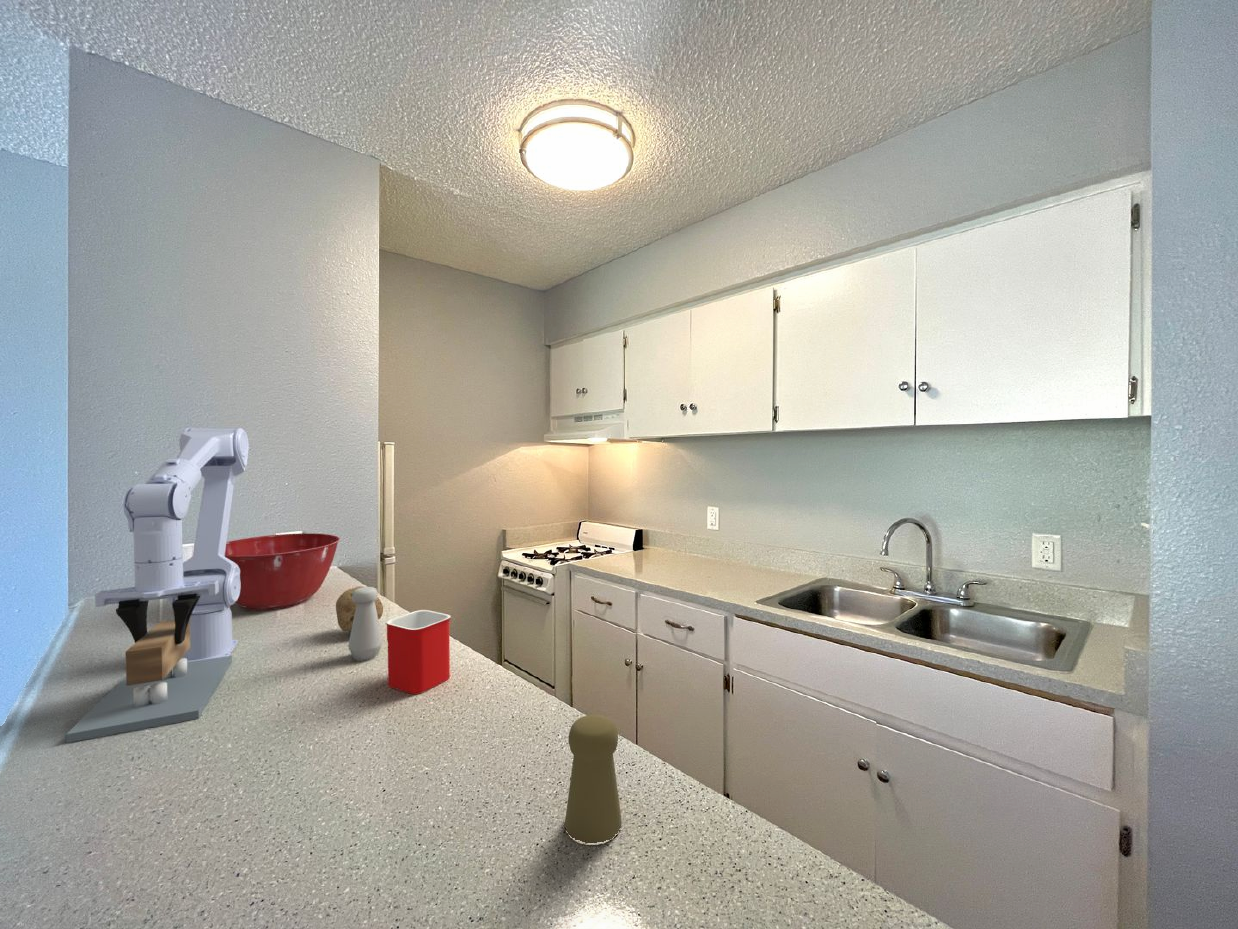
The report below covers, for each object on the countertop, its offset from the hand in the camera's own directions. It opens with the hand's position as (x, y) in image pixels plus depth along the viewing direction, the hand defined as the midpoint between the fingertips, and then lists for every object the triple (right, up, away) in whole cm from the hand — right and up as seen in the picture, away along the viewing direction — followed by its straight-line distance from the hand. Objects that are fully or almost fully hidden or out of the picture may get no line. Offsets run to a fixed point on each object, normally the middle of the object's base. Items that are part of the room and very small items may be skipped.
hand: (161, 644), depth 81 cm
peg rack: (0, -8, 0) cm, 8 cm away
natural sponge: (+17, -8, +28) cm, 34 cm away
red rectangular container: (+37, -8, +7) cm, 39 cm away
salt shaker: (+25, -8, +16) cm, 30 cm away
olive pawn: (+70, -10, -27) cm, 76 cm away
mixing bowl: (-15, -7, +50) cm, 52 cm away
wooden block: (0, -3, 0) cm, 3 cm away
